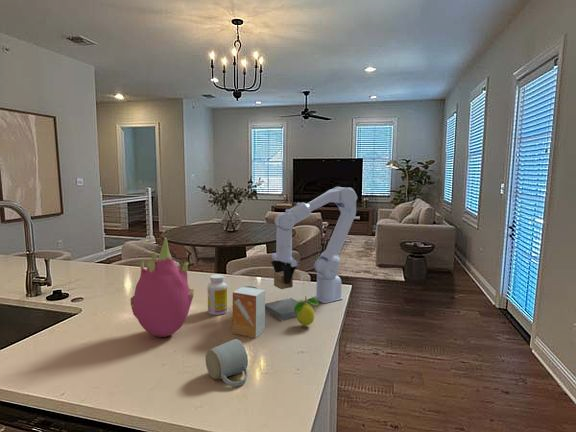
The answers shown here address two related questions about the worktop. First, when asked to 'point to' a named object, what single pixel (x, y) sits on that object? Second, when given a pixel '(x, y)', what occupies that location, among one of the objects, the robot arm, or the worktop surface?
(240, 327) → the small box
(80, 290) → the worktop surface
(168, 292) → the pink dragon fruit
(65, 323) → the worktop surface
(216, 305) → the supplement bottle
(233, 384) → the ceramic mug
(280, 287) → the walnut block
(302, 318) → the lemon
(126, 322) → the worktop surface
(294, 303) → the slate tile
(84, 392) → the worktop surface
